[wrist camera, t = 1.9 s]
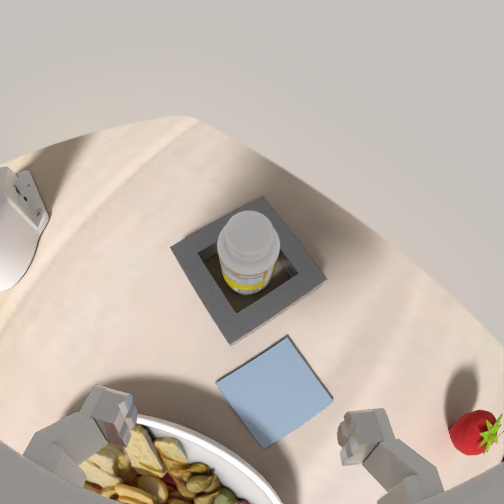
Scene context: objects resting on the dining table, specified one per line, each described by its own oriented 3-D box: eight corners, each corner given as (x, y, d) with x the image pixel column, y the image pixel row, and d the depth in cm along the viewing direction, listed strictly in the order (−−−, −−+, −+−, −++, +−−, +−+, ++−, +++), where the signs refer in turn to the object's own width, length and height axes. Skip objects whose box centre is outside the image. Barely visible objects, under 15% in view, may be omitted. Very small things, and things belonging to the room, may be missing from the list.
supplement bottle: (250, 241, 34) (254, 190, 24) (281, 276, 32) (298, 236, 23) (212, 268, 32) (201, 226, 23) (242, 306, 30) (244, 277, 21)
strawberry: (445, 401, 26) (498, 402, 17) (473, 417, 24) (522, 418, 15) (425, 442, 24) (476, 453, 15) (455, 454, 22) (503, 464, 13)
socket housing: (175, 257, 32) (170, 247, 30) (260, 209, 35) (262, 195, 32) (230, 346, 29) (229, 344, 26) (319, 286, 32) (327, 278, 29)
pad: (215, 383, 27) (215, 383, 27) (286, 337, 29) (287, 337, 29) (263, 448, 24) (263, 449, 24) (332, 401, 26) (333, 401, 26)
